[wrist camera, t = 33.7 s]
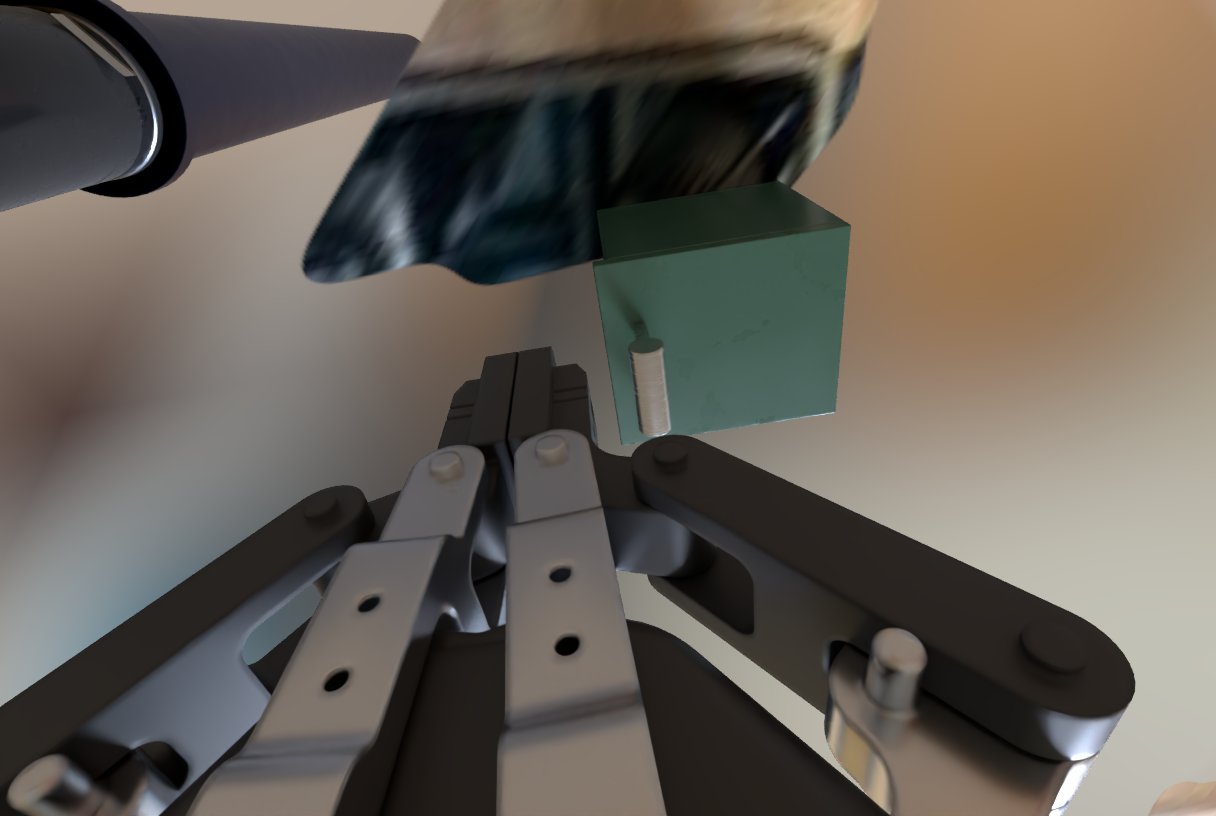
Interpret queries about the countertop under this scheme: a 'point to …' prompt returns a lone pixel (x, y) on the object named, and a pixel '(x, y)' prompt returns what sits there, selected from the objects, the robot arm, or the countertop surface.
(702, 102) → the countertop surface
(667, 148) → the countertop surface
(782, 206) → the box
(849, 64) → the countertop surface
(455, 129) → the countertop surface
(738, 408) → the lid
